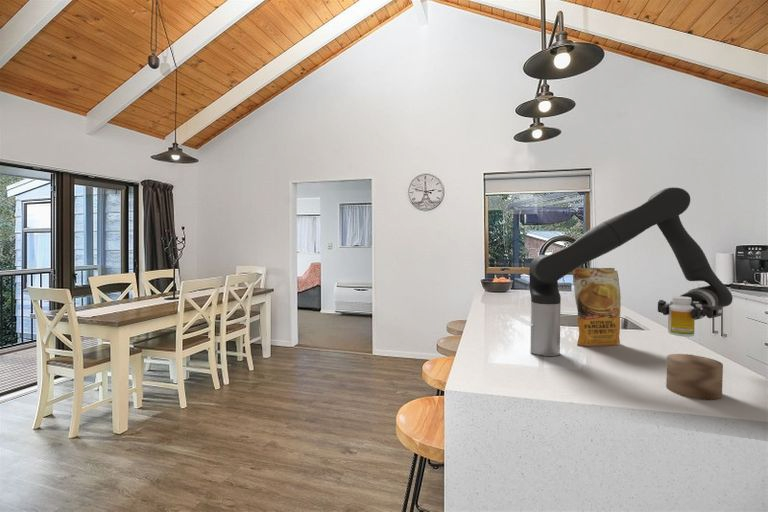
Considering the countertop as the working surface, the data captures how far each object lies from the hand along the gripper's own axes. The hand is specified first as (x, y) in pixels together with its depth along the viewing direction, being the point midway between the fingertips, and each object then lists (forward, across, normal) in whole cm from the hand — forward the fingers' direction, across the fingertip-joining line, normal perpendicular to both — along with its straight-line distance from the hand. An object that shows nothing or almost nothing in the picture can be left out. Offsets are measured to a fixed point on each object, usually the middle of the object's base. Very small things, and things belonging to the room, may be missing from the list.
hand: (678, 312), depth 98 cm
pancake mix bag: (-29, -31, +20) cm, 47 cm away
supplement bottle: (-3, 0, +6) cm, 7 cm away
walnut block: (-1, +3, +20) cm, 20 cm away
